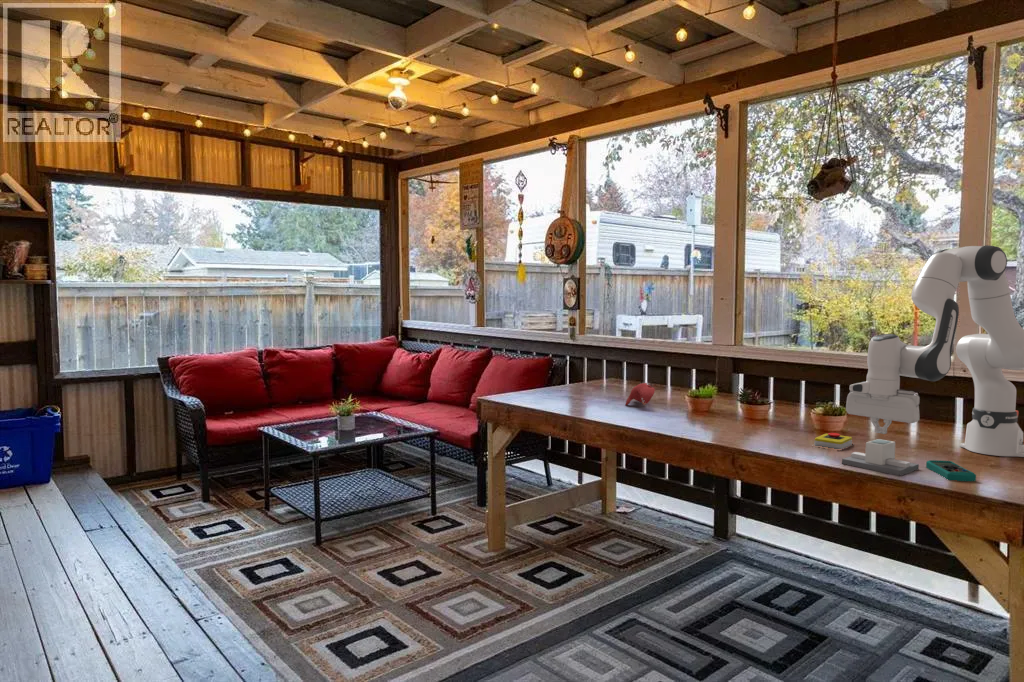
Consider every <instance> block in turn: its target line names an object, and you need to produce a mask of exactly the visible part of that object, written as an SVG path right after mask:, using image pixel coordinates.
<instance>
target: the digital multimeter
mask: <svg viewBox="0 0 1024 682" xmlns="http://www.w3.org/2000/svg"><path fill="white" fill-rule="evenodd" d="M925 462H926V463H925V465H926V466H925V468H927V469H928V470H930V471H932V472H934V473H935V472H936V474H937V473H938V474H937V475H939V474H940V475H939V476H941V477H942V476H943V477H942V478H944V477H945V478H946V479H945V478H944V479H945V480H947V479H948V480H947V481H951V480H957V481H956V482H976V480H977V474H975V472H973V471H971V470H968V469H967V468H964V467H963V466H961V465H958V464H957V463H955V462H954V461H951V460H935V459H933V460H928V461H925Z"/></svg>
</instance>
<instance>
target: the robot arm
mask: <svg viewBox="0 0 1024 682" xmlns="http://www.w3.org/2000/svg"><path fill="white" fill-rule="evenodd" d="M1007 265H1008V258H1007V255H1006V253H1005V252H1004V250H1002V248H1001V247H999V246H995V245H989V244H987V245H970V246H969V245H967V246H962V247H961V246H960V247H955V248H954V247H953V248H949V249H941V250H937V251H936V252H934V253H933V254H932V255H931V256H930V257H928V260H927V261H926V262H925V264H924V265H923V267H922V269H921V270H920V272H919V274H918V276H917V278H916V280H915V283H914V285H913V287H912V291H911V294H910V295H911V296H910V297H911V301H912V302H913V304H914V306H915V307H916V308H917V309H918V310H920V311H921V312H923V313H925V314H927V315H929V316H931V317H934V318H935V325H934V330H933V334H932V338H931V342H930V343H929V344H928V345H924V346H923V345H922V346H921V345H911V344H907V343H905V342H903V341H901V340H900V337H899V335H898V334H893V333H883V334H882V333H881V334H876V335H874V336H872V337H871V338H870V341H869V344H868V348H867V359H866V361H867V362H866V365H867V369H868V370H867V374H866V381H864V380H863V381H861V382H856V383H853V384H850V385H849V388H848V389H849V393H848V394H847V397H846V402H845V403H846V404H845V411H846V413H847V414H849V415H853V416H859V417H860V416H861V417H867V418H870V421H871V423H872V426H873V427H874V433H878V434H882V435H885V434H888V428H889V426H890V425H891V424H892V421H894V422H901V423H909V424H915V423H917V422H919V420H920V406H919V405H920V403H921V402H920V400H921V399H920V398H921V397H920V395H919V394H917V393H916V392H915V391H913V390H905V389H900V387H901V386H900V384H901V377H900V376H902V377H907V378H908V377H909V378H916V379H920V380H924V381H929V382H937V381H940V380H941V379H943V378H945V377H946V376H947V374H948V373H949V372H950V369H951V367H952V366H951V365H952V350H953V345H954V341H955V335H956V330H957V325H958V322H959V321H958V320H959V315H960V307H959V304H958V303H957V301H955V294H956V291H957V289H958V286H959V283H964V282H966V283H967V295H968V302H969V309H970V315H971V319H972V321H973V322H974V323H975V324H977V325H978V326H979V327H981V328H983V330H984V331H985V332H986V333H973V334H968V335H964V336H962V337H961V338H960V339H958V341H957V343H956V346H955V354H956V356H957V359H959V360H960V362H962V363H963V364H964V365H965V366H966V368H967V369H968V371H969V374H970V375H971V378H972V380H973V387H974V407H973V408H972V412H971V414H972V415H971V418H972V420H971V421H969V422H968V423H967V424H966V431H965V439H964V442H960V444H959V447H961V448H964V449H966V450H967V451H970V452H973V453H978V454H982V455H989V456H997V457H998V456H999V457H1020V458H1024V431H1023V430H1022V428H1021V427H1020V425H1019V423H1018V421H1019V420H1018V418H1019V414H1020V413H1019V410H1016V406H1017V404H1016V403H1017V388H1016V386H1015V384H1013V383H1012V382H1011V381H1009V380H1008V379H1007V378H1006V377H1005V375H1004V372H1003V370H1012V371H1022V370H1024V328H1022V325H1020V323H1019V321H1018V320H1017V318H1016V315H1015V312H1014V308H1013V303H1012V296H1011V291H1010V289H1011V288H1010V285H1009V280H1008V278H1007V275H1006V274H1007V273H1006V272H1005V271H1006V270H1007V269H1006V268H1007V267H1008V266H1007ZM1002 369H1003V370H1002ZM880 420H883V423H884V425H883V426H880V424H879V422H878V421H880Z"/></svg>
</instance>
